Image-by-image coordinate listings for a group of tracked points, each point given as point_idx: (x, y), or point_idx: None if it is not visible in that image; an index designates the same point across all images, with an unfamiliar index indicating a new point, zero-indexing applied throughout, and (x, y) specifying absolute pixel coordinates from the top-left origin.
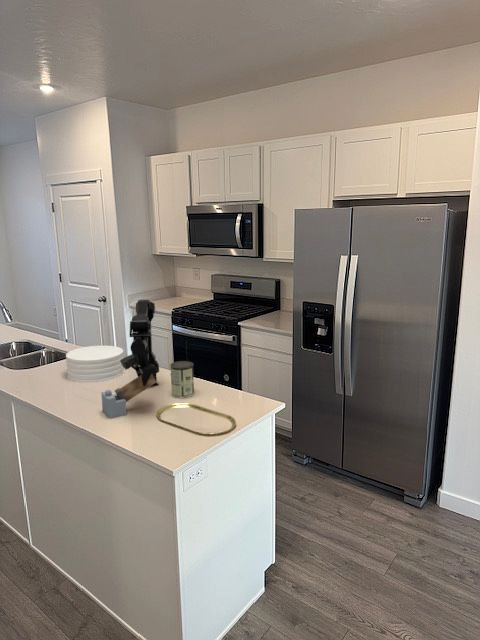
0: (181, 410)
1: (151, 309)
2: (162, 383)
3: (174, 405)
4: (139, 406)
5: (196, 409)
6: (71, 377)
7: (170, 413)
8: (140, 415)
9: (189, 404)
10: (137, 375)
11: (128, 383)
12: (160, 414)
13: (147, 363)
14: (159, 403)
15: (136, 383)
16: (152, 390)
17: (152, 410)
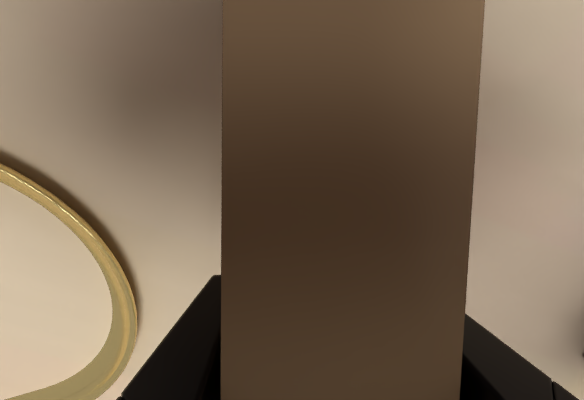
0: (37, 328)
1: None
2: (580, 382)
3: (127, 324)
4: None
5: (18, 396)
6: None
7: (2, 253)
8: (53, 5)
9: (86, 396)
10: (532, 380)
11: (463, 32)
12: (5, 182)
13: None
14: None
15: (227, 190)
16: (535, 303)
17: (137, 160)
